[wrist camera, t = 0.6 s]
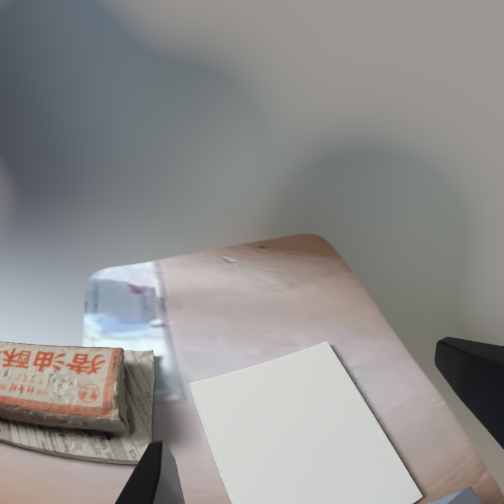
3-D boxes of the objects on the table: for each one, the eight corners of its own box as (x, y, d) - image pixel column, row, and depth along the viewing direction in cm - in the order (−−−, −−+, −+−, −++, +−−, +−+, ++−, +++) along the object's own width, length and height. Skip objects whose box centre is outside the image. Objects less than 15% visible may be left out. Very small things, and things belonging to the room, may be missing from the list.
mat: (419, 497, 16) (422, 496, 15) (264, 574, 12) (265, 575, 12) (325, 345, 27) (327, 341, 27) (190, 386, 24) (189, 382, 23)
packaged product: (-59, 410, 13) (-26, 319, 21) (-27, 435, 16) (-3, 350, 24) (136, 450, 15) (145, 322, 23) (155, 467, 18) (157, 357, 26)
